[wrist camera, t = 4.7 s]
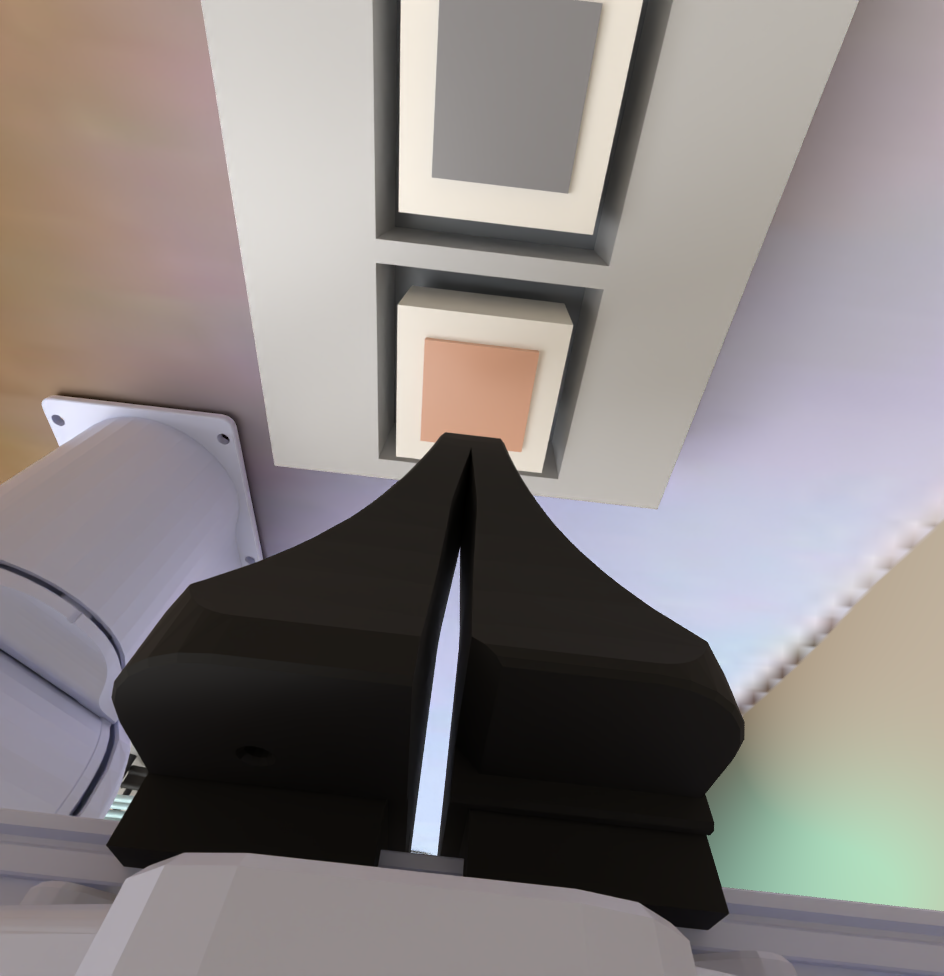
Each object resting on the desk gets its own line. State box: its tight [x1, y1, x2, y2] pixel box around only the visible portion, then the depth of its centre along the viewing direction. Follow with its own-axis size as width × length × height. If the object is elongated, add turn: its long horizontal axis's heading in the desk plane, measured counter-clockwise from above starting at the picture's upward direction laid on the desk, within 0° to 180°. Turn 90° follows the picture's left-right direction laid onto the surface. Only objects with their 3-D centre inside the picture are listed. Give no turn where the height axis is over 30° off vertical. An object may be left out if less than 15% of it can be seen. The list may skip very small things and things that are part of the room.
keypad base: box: [201, 0, 859, 509], centre depth 13 cm, size 22×14×4 cm, turn 174°
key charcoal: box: [399, 0, 643, 235], centre depth 11 cm, size 5×5×3 cm
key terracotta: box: [396, 286, 573, 473], centre depth 15 cm, size 5×5×3 cm
